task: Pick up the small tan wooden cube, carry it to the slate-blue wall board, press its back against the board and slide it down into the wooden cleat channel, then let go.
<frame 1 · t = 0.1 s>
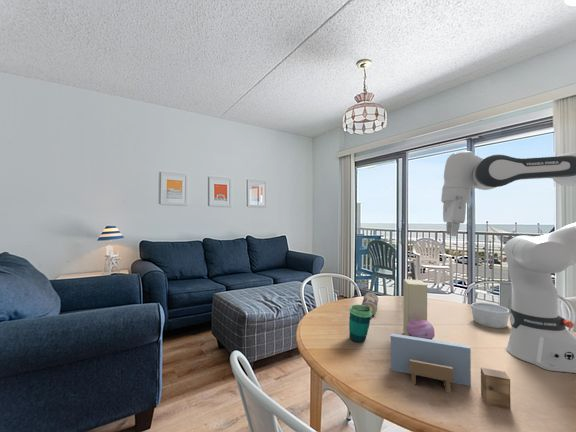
hand: (451, 235, 97), 39 cm above the table, tool pointing down, fingers open, 8 cm apart
toy refrigerator: (415, 338, 101), on the table
decorative bottle: (367, 312, 130), on the table
ramekin: (489, 323, 115), on the table
wall board: (428, 375, 76), on the table
cup: (360, 340, 99), on the table
tan wooden cube: (495, 402, 65), on the table
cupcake: (420, 349, 92), on the table
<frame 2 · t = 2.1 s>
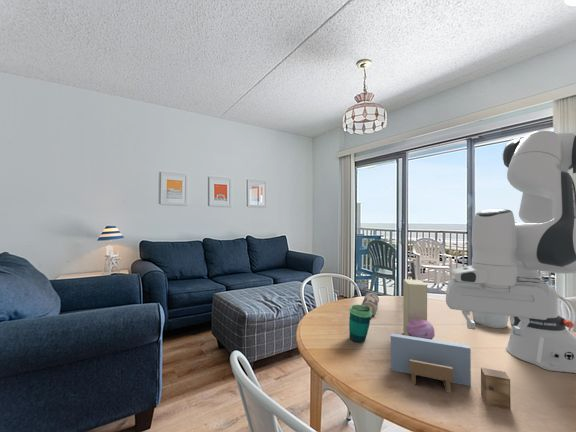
hand: (493, 331, 66), 17 cm above the table, tool pointing down, fingers open, 8 cm apart
nothing on the table moved.
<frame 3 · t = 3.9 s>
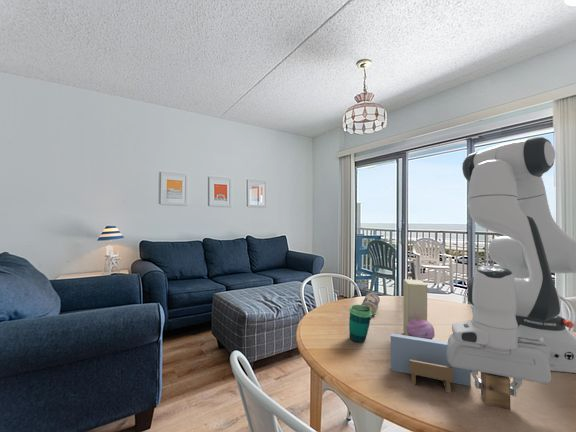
hand: (494, 390, 66), 3 cm above the table, tool pointing down, fingers closed on tan wooden cube, 5 cm apart
tan wooden cube: (495, 401, 65), on the table, touching gripper
everything else where it was.
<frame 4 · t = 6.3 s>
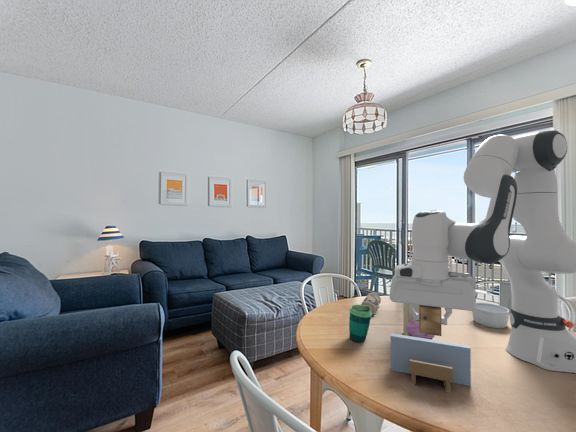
hand: (429, 322, 72), 17 cm above the table, tool pointing down, fingers closed on tan wooden cube, 5 cm apart
tan wooden cube: (429, 332, 72), point 14 cm above the table, touching gripper
everything else where it was.
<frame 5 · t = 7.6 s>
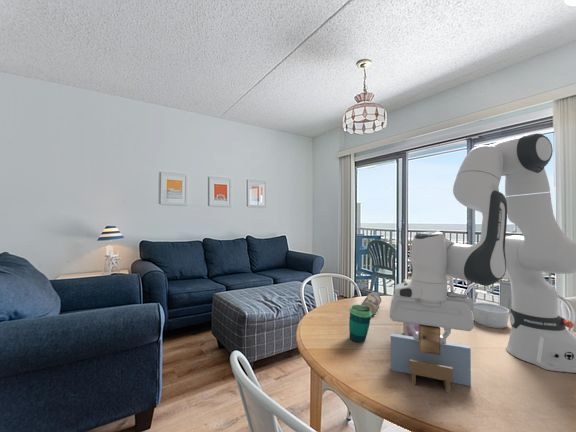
hand: (429, 341, 74), 11 cm above the table, tool pointing down, fingers closed on tan wooden cube, 5 cm apart
tan wooden cube: (429, 350, 74), point 9 cm above the table, touching gripper
everything else where it was.
when the fingers open (7 cm above the table, at t = 8.7 s): tan wooden cube stays where it is, resting on wall board.
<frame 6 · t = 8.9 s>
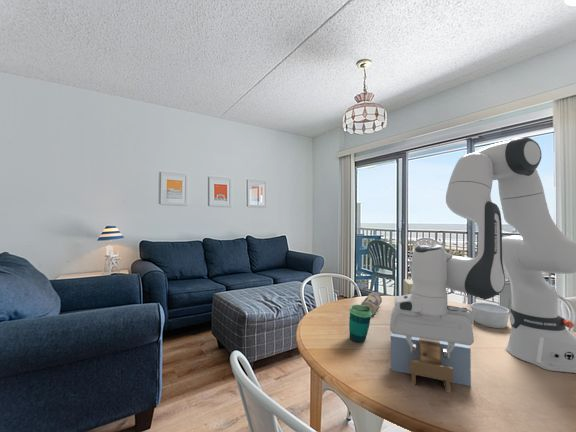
hand: (429, 354, 74), 7 cm above the table, tool pointing down, fingers open, 7 cm apart
tan wooden cube: (429, 367, 74), point 4 cm above the table, touching wall board
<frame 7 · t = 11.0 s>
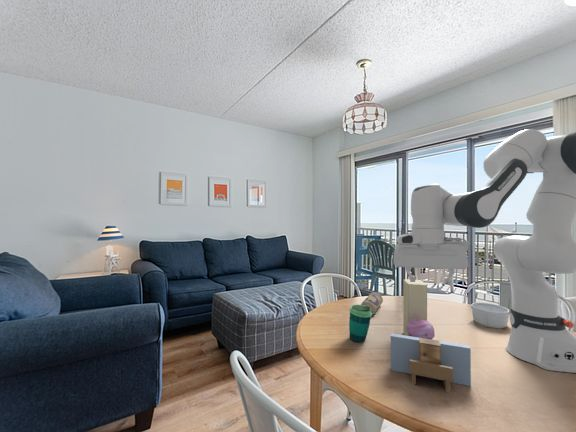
hand: (429, 282, 82), 25 cm above the table, tool pointing down, fingers open, 8 cm apart
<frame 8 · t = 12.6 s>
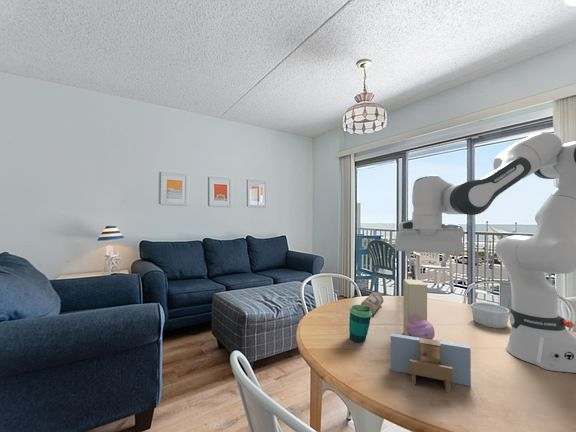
hand: (427, 265, 89), 29 cm above the table, tool pointing down, fingers open, 8 cm apart
at the end: tan wooden cube inside the target area on the wall board (0.6 cm from its centre), point 4.0 cm above the wall board's base; tan wooden cube tilted 0°; the gripper is holding nothing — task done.
